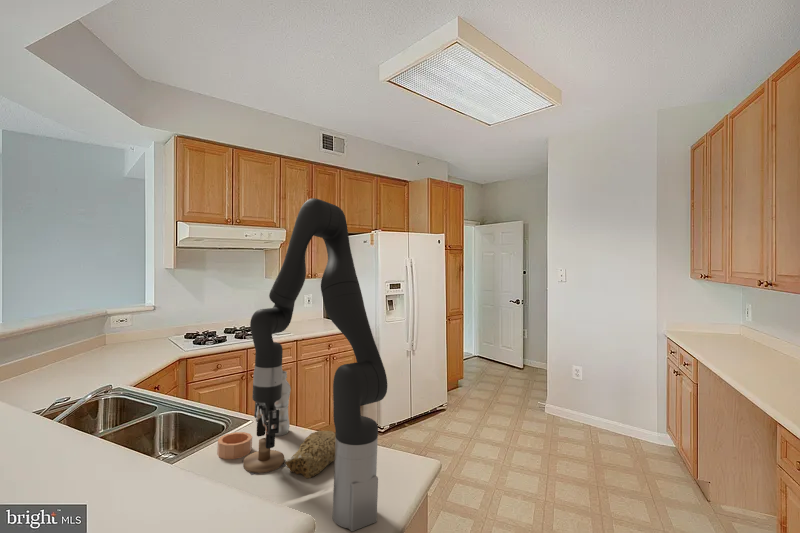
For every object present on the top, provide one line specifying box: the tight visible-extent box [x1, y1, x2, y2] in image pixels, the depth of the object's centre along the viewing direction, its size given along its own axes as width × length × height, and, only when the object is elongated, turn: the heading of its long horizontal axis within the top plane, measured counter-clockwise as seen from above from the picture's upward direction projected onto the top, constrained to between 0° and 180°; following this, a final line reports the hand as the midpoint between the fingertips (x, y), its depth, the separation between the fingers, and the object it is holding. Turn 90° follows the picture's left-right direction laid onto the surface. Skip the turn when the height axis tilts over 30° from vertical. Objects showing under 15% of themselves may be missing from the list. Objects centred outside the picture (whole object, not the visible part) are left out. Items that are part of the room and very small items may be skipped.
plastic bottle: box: [271, 370, 291, 437], centre depth 126 cm, size 6×7×20 cm
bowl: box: [216, 431, 253, 460], centre depth 112 cm, size 9×9×4 cm
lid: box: [242, 437, 285, 474], centre depth 106 cm, size 10×10×6 cm
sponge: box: [285, 430, 336, 479], centre depth 109 cm, size 13×8×20 cm
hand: (265, 441), depth 106 cm, fingers open, 8 cm apart
